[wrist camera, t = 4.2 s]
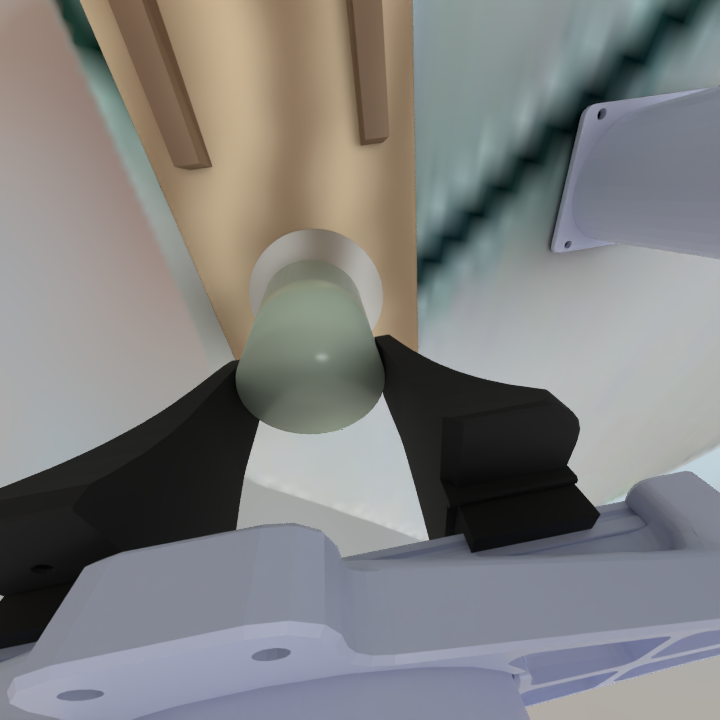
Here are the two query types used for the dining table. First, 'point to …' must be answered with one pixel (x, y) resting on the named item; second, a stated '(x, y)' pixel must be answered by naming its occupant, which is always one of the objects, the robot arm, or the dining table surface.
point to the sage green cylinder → (310, 352)
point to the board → (277, 141)
